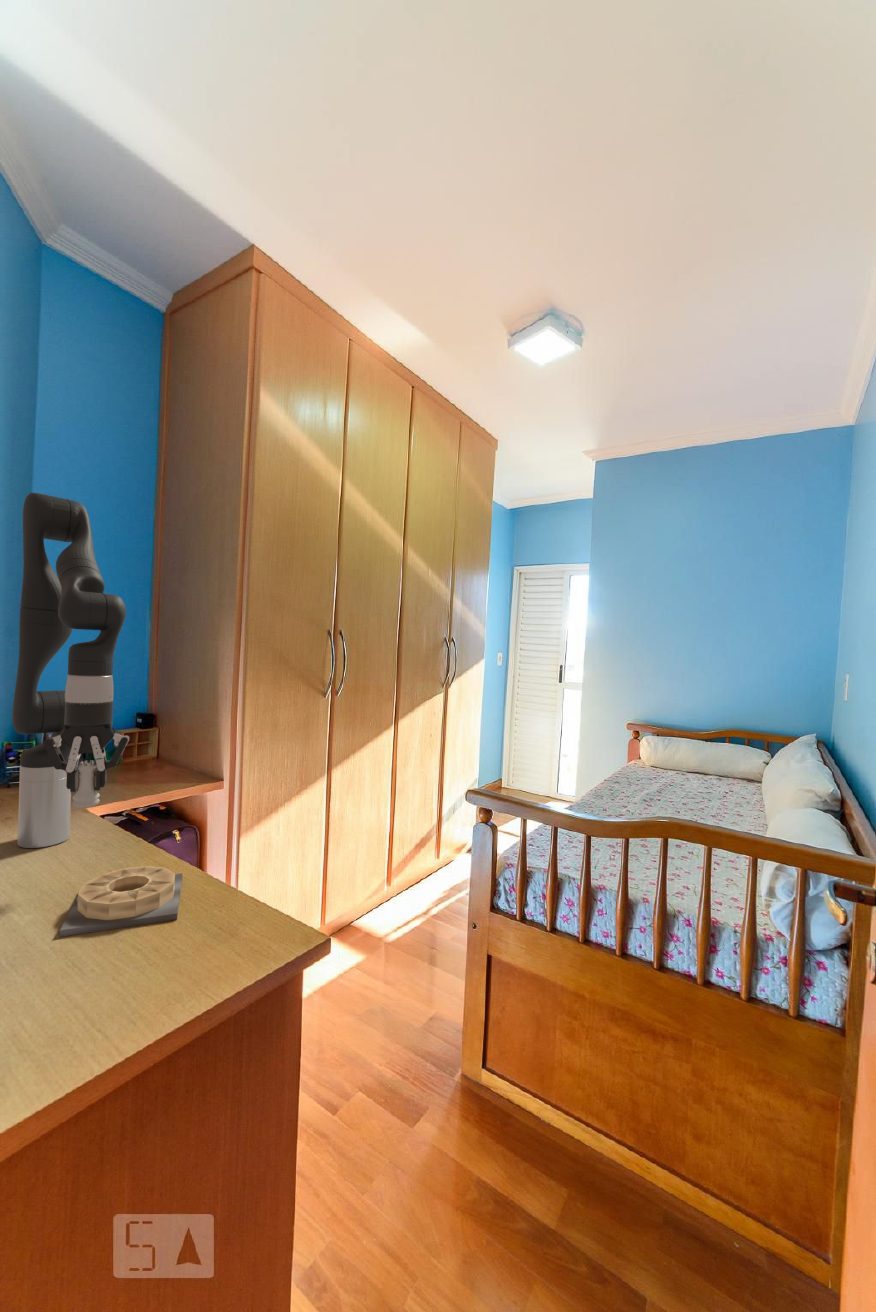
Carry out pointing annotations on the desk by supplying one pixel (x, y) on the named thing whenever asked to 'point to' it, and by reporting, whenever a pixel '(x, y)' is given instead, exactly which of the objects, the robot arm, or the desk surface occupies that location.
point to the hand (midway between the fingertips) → (86, 789)
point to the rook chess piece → (86, 786)
